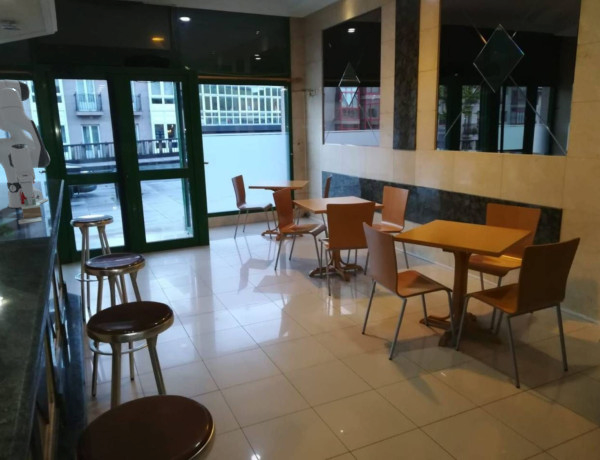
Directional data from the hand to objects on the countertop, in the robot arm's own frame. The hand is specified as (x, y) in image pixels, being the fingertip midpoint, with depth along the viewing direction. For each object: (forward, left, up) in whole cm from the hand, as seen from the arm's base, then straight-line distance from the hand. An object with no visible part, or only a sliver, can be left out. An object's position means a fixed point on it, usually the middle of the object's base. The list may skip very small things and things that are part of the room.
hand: (30, 203), depth 243 cm
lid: (0, 0, -2) cm, 2 cm away
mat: (+11, +6, -7) cm, 14 cm away
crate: (0, 0, -7) cm, 7 cm away
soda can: (-12, -10, -7) cm, 17 cm away
